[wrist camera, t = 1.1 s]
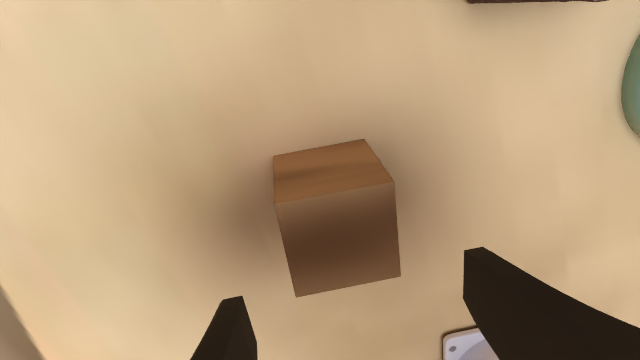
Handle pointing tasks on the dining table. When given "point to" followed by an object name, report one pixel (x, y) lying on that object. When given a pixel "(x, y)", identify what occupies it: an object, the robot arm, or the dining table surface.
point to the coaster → (632, 89)
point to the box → (518, 0)
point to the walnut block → (336, 217)
